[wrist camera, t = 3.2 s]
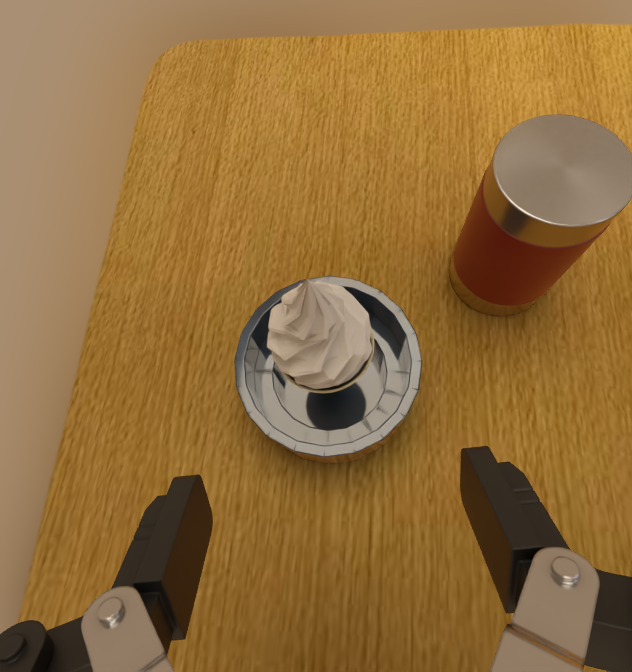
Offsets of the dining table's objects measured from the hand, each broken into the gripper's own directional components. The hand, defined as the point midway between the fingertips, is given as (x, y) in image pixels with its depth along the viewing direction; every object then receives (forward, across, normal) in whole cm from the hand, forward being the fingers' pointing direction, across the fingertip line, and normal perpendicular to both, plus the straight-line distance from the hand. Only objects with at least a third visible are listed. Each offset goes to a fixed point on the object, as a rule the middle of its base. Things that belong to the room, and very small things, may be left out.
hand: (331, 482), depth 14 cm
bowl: (+15, 0, +6) cm, 16 cm away
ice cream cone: (+15, 0, +6) cm, 16 cm away
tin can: (+20, -12, +1) cm, 24 cm away
